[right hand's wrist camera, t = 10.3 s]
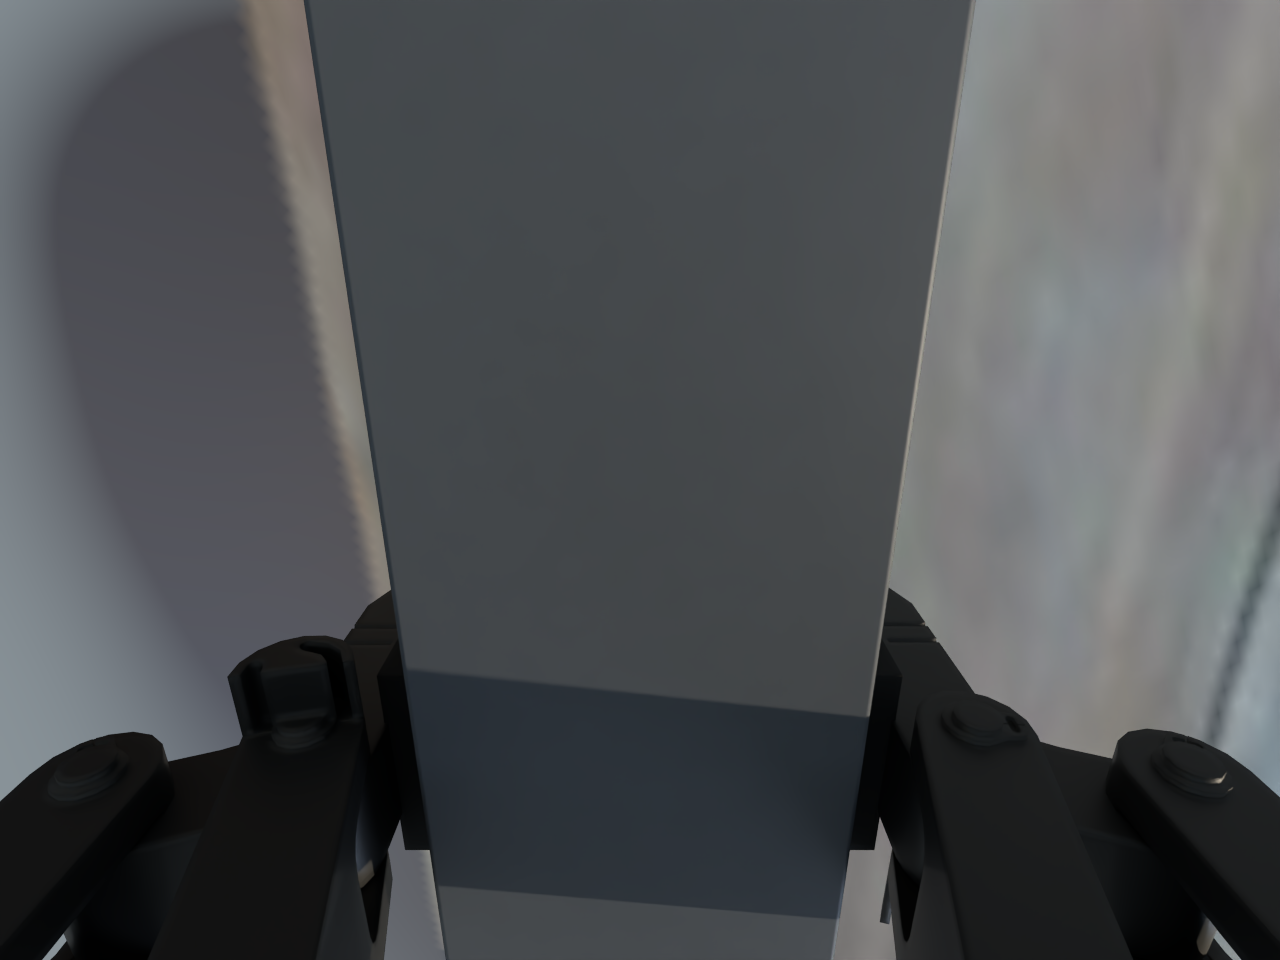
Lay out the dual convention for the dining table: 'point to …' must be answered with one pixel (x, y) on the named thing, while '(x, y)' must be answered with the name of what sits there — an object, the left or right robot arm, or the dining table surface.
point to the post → (639, 437)
